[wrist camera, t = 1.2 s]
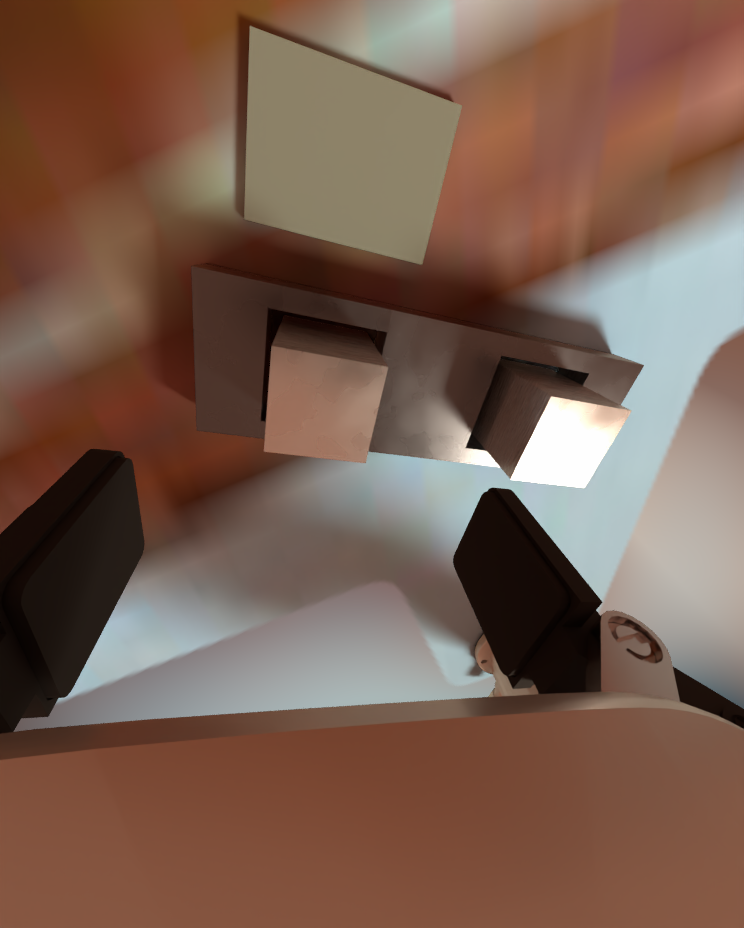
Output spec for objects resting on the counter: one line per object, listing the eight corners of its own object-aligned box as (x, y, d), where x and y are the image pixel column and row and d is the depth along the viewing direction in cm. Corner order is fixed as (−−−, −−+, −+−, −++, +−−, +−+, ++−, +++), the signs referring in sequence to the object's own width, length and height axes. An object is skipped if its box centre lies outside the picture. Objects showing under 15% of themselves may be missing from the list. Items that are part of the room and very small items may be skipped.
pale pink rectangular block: (351, 405, 26) (365, 463, 19) (277, 394, 24) (263, 451, 18) (366, 331, 23) (388, 366, 16) (284, 315, 22) (271, 345, 15)
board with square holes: (555, 457, 31) (577, 476, 28) (208, 411, 24) (196, 430, 22) (612, 353, 26) (644, 365, 24) (206, 263, 20) (191, 265, 17)
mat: (419, 264, 21) (422, 264, 21) (245, 220, 19) (243, 219, 19) (457, 109, 18) (462, 105, 17) (251, 32, 16) (249, 25, 15)
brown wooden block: (520, 431, 29) (584, 487, 22) (462, 422, 28) (510, 479, 21) (549, 368, 26) (631, 410, 19) (486, 355, 25) (551, 396, 18)
